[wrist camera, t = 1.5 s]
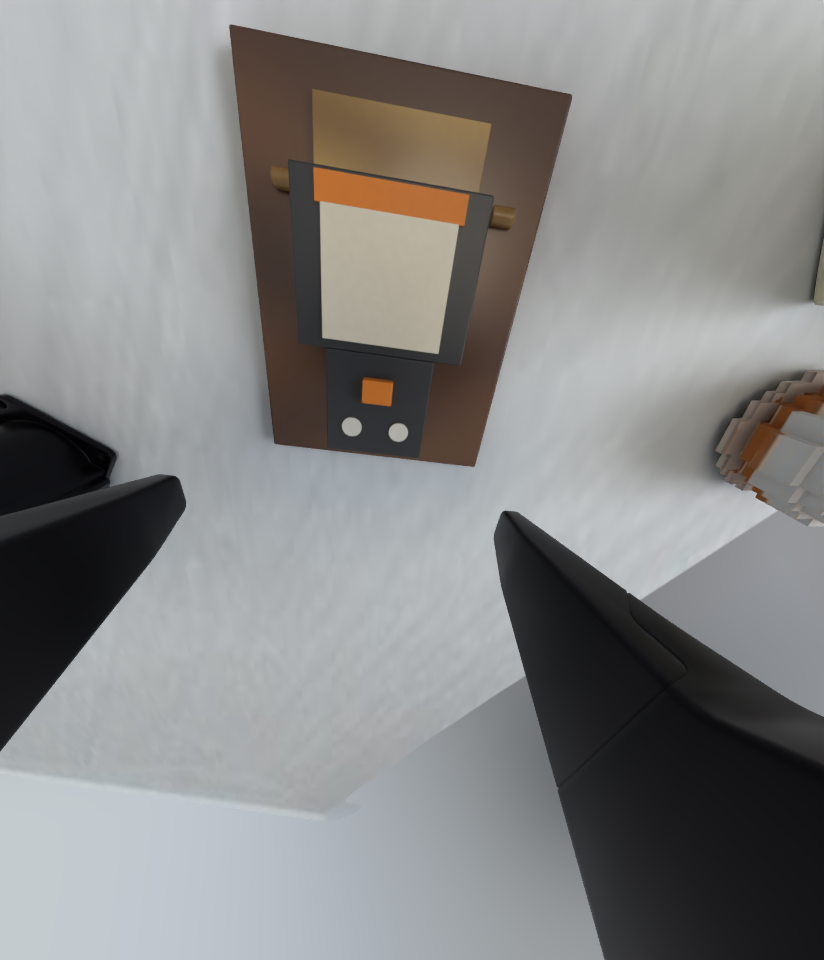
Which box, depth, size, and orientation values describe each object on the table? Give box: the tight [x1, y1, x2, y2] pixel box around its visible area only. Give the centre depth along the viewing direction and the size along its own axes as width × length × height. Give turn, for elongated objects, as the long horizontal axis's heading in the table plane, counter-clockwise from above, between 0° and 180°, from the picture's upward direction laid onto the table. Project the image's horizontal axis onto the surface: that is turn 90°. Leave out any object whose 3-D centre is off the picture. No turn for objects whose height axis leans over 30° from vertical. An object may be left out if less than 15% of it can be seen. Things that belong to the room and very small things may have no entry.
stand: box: [229, 25, 572, 467], centre depth 15 cm, size 16×13×2 cm
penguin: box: [288, 159, 494, 458], centre depth 14 cm, size 11×8×3 cm
